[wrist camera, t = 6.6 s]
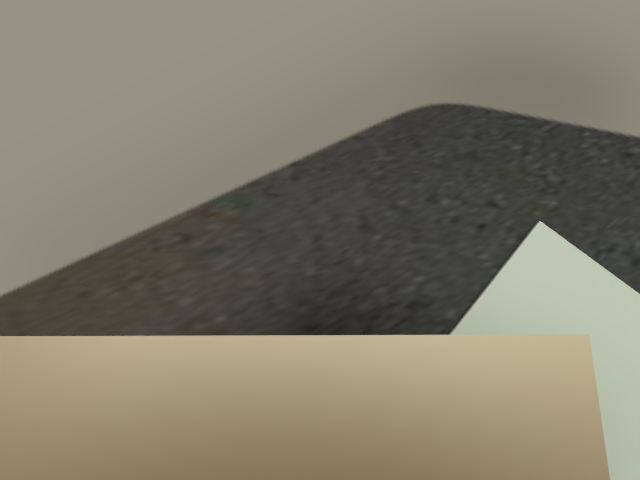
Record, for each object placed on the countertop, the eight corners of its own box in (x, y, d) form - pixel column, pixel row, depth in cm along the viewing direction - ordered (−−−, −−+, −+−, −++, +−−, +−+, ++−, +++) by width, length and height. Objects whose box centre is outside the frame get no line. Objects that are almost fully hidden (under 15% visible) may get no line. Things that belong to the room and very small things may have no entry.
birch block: (412, 517, 14) (725, 1285, 3) (238, 514, 15) (-159, 1210, 3) (403, 337, 16) (589, 333, 4) (244, 337, 16) (-10, 336, 4)
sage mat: (747, 378, 20) (755, 379, 20) (608, 594, 19) (614, 599, 18) (536, 222, 22) (539, 220, 22) (393, 403, 21) (394, 405, 20)
